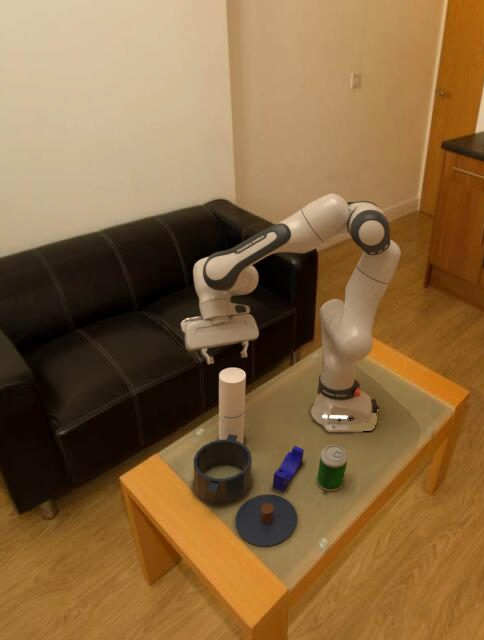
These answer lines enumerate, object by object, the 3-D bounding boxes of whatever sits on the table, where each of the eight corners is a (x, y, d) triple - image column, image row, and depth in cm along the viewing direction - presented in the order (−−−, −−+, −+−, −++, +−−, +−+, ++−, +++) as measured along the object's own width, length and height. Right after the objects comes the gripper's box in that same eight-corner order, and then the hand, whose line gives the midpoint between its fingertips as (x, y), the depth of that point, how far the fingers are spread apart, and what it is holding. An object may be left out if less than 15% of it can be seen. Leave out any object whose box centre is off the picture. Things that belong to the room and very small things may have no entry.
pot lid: (300, 500, 134) (302, 487, 131) (291, 551, 120) (293, 538, 118) (243, 493, 133) (244, 480, 131) (228, 544, 120) (228, 530, 117)
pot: (257, 460, 144) (258, 436, 139) (240, 518, 126) (241, 492, 122) (207, 454, 143) (206, 429, 138) (182, 511, 126) (181, 485, 121)
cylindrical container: (237, 453, 145) (239, 385, 133) (214, 447, 146) (214, 379, 134) (247, 437, 151) (249, 371, 139) (225, 431, 152) (226, 365, 140)
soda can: (339, 496, 137) (345, 465, 131) (313, 490, 138) (317, 459, 132) (345, 476, 144) (350, 446, 138) (320, 470, 144) (324, 440, 138)
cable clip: (288, 458, 146) (289, 443, 143) (302, 464, 145) (303, 449, 142) (267, 487, 136) (268, 471, 133) (282, 493, 135) (283, 478, 132)
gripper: (181, 315, 132) (191, 365, 130) (254, 305, 143) (265, 351, 141) (177, 321, 138) (187, 369, 136) (248, 311, 148) (259, 356, 146)
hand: (227, 360), depth 138 cm, fingers open, 8 cm apart
